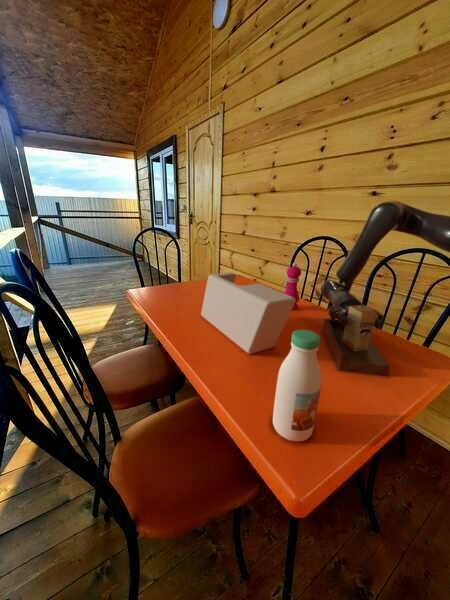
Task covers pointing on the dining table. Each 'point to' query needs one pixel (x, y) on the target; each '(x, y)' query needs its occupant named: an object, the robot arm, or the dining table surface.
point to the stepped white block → (246, 311)
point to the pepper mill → (293, 283)
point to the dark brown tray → (353, 352)
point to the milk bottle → (298, 388)
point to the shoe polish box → (359, 327)
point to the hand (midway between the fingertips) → (362, 324)
